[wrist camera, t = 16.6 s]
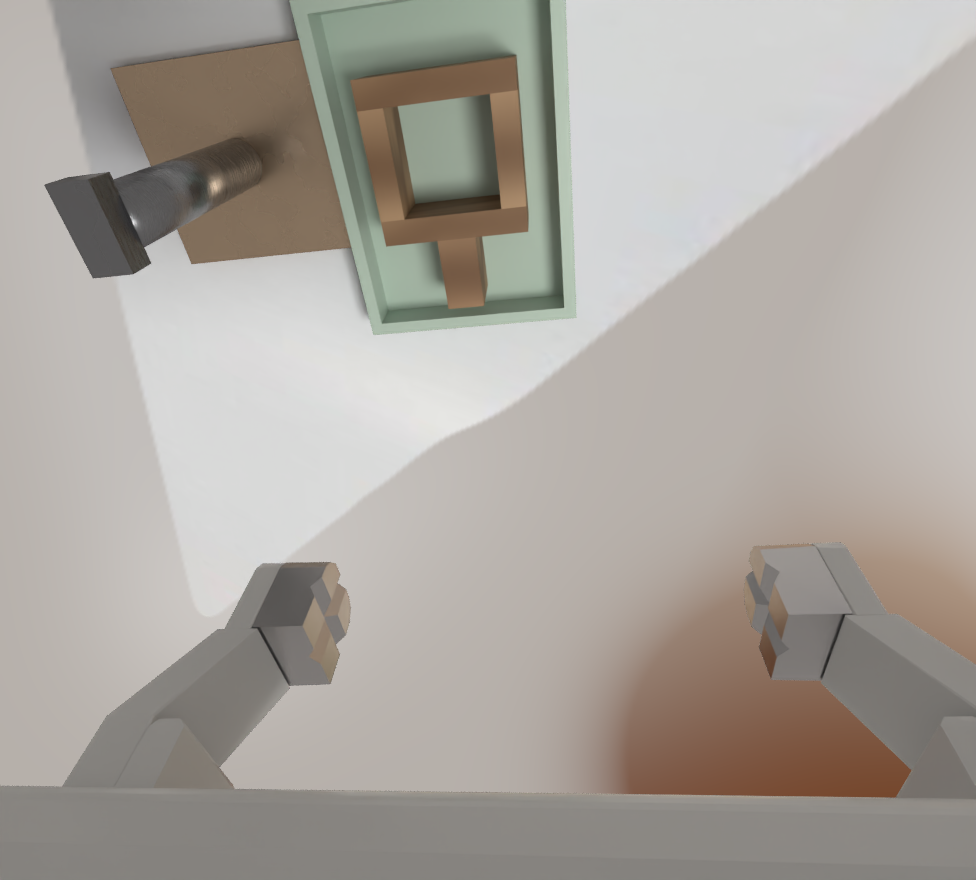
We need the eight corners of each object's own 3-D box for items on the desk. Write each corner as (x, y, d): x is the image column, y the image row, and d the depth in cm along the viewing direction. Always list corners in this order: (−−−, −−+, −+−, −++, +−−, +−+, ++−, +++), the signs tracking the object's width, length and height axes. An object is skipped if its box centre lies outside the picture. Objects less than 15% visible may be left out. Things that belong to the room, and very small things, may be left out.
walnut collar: (367, 75, 35) (350, 80, 31) (516, 54, 34) (514, 57, 30) (411, 291, 42) (400, 313, 39) (533, 280, 41) (533, 301, 38)
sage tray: (306, 0, 33) (288, -3, 31) (561, -41, 31) (563, -47, 29) (382, 318, 44) (373, 335, 42) (574, 301, 43) (576, 317, 40)
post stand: (120, 67, 36) (-130, 89, 22) (304, 39, 34) (156, 45, 21) (198, 259, 43) (43, 364, 29) (354, 243, 41) (267, 345, 28)
